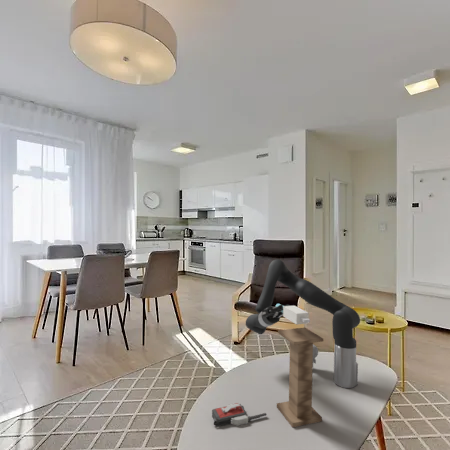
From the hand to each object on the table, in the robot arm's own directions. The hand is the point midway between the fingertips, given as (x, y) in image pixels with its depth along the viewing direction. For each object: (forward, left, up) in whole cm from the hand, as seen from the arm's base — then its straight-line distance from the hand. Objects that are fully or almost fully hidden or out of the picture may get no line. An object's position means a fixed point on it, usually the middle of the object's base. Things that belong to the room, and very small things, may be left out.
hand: (285, 306), depth 124 cm
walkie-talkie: (+22, +7, -38) cm, 45 cm away
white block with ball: (0, +4, -3) cm, 5 cm away
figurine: (-24, -19, -37) cm, 48 cm away
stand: (0, +11, -37) cm, 39 cm away
